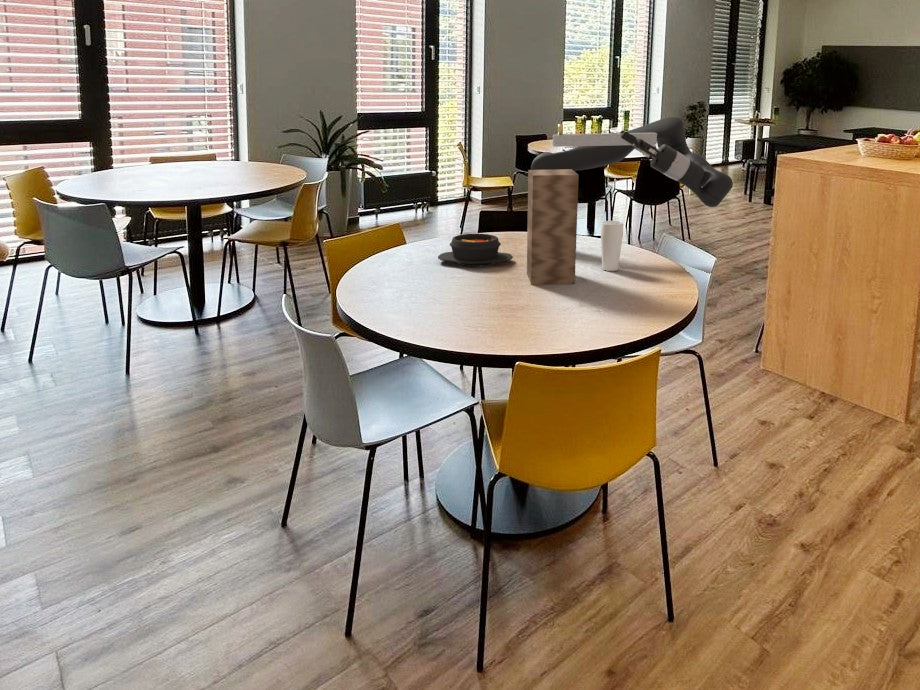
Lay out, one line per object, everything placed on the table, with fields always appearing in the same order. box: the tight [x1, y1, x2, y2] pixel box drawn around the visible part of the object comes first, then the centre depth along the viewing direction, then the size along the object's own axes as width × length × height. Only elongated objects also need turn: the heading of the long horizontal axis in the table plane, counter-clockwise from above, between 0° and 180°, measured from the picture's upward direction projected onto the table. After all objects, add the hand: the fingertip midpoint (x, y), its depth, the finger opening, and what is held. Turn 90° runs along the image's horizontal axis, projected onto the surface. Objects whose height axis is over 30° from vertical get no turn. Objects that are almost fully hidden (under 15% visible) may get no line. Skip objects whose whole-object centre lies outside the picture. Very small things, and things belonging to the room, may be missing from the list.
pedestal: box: [526, 169, 579, 286], centre depth 237 cm, size 13×13×32 cm
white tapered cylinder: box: [600, 220, 624, 272], centre depth 250 cm, size 7×7×15 cm
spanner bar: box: [552, 123, 657, 148], centre depth 232 cm, size 30×3×6 cm, turn 91°
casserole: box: [437, 233, 514, 267], centre depth 263 cm, size 25×19×8 cm
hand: (621, 133), depth 232 cm, fingers closed on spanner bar, 3 cm apart
